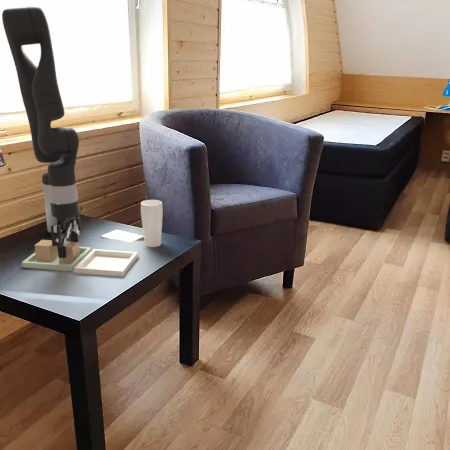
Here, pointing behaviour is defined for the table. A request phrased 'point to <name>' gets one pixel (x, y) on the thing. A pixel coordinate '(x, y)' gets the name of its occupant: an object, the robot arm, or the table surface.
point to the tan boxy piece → (45, 251)
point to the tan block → (71, 252)
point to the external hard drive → (123, 236)
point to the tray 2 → (106, 262)
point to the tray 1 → (55, 261)
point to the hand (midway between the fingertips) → (69, 252)
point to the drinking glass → (152, 222)
